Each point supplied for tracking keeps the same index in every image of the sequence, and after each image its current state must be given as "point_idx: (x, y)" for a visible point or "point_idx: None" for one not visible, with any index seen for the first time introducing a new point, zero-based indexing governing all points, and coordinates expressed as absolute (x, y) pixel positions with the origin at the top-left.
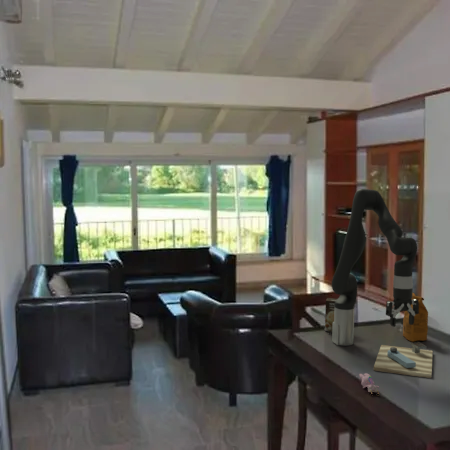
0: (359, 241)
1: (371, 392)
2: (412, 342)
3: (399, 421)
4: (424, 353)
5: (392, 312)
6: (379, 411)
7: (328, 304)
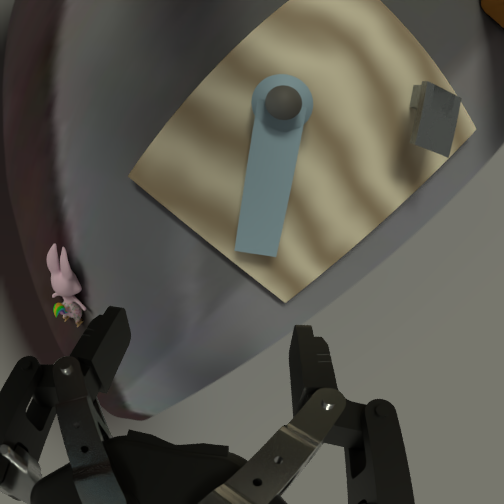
0: None
1: (65, 318)
2: (433, 86)
3: None
4: None
5: (69, 399)
6: None
7: None
